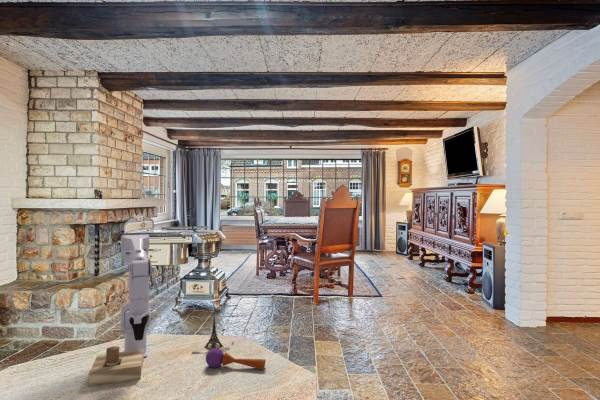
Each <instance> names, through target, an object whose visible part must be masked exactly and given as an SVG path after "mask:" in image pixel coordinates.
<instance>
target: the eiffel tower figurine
mask: <svg viewBox="0 0 600 400" xmlns="http://www.w3.org/2000/svg"><path fill="white" fill-rule="evenodd" d="M212 319H213V320H212V321H213V322H212V331H211V335H210V338H209V339H208V341H207V343H206V344H205V346H204V347H203V348H204V349H206V350H208V351H210V350H211V349H213V348H218V349H220V350H222V352H223V353H225V352H226V353H227V352H229V351H230V350H231V348H230V347H224V345H223V344H222V342H221V341H220V339H219V338H218V337H219V336H218V335H217V334H218V333H217V330H216V316H215V315H213V318H212ZM234 343H235V342H234V341H231V346H234ZM208 351H206V352H205V354H207V353H208ZM190 354H193V355H195V354H197V355H198V354H203V352H200V351H197V350H196V351H191V353H190Z"/></svg>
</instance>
